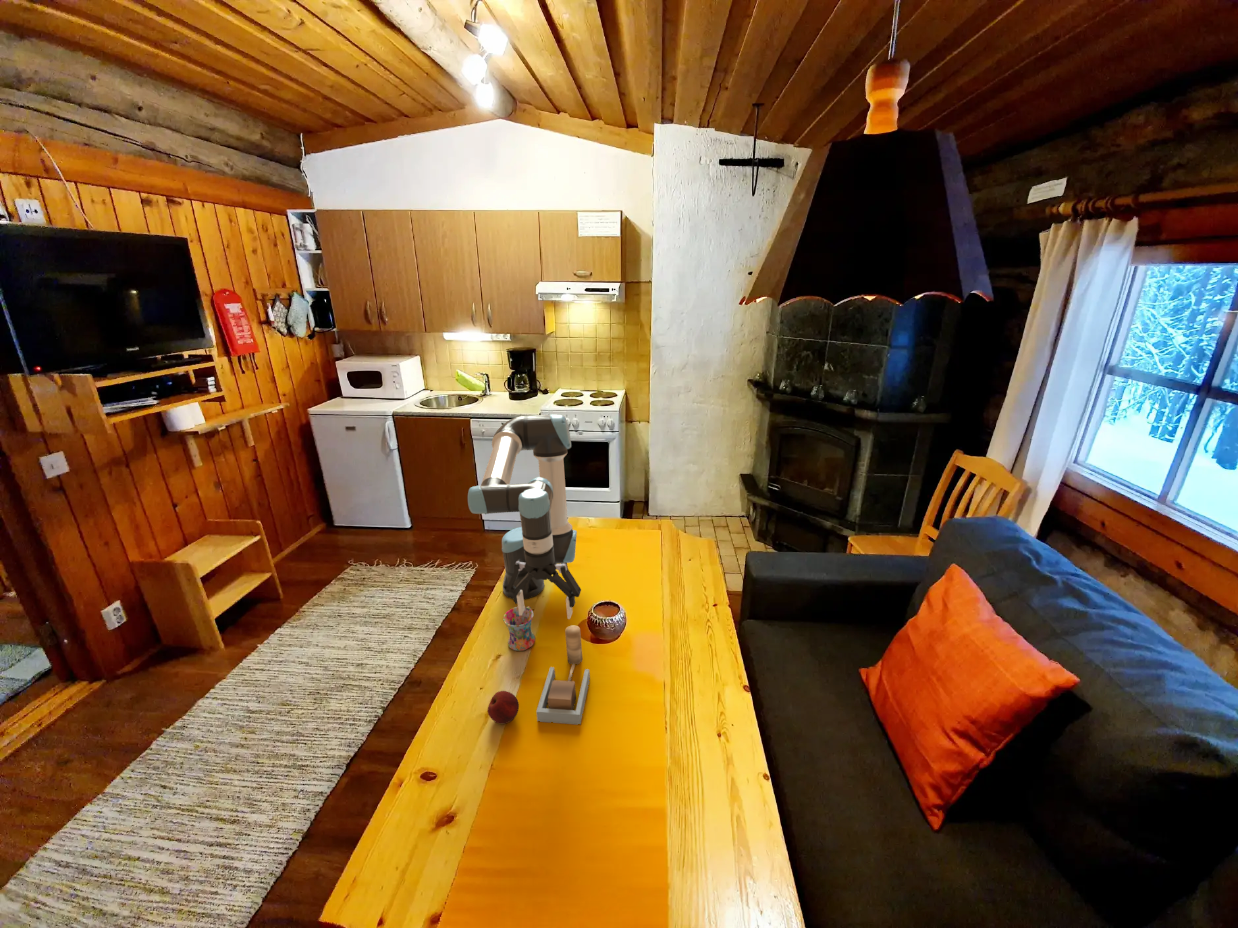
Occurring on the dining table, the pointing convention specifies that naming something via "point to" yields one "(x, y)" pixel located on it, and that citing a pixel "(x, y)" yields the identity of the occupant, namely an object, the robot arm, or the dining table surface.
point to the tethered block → (564, 691)
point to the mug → (519, 628)
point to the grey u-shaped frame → (560, 714)
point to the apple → (503, 707)
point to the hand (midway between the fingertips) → (545, 613)
